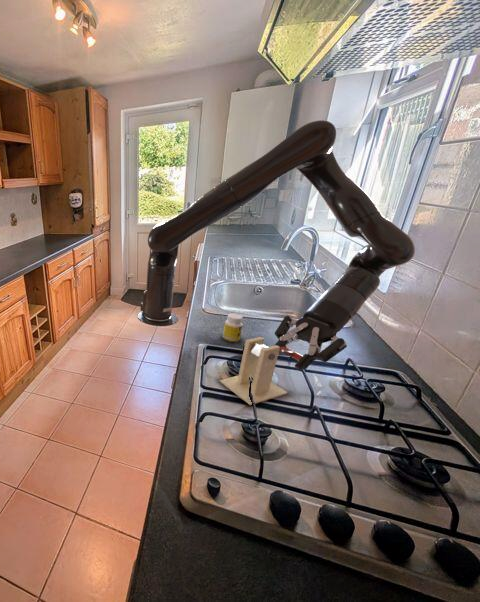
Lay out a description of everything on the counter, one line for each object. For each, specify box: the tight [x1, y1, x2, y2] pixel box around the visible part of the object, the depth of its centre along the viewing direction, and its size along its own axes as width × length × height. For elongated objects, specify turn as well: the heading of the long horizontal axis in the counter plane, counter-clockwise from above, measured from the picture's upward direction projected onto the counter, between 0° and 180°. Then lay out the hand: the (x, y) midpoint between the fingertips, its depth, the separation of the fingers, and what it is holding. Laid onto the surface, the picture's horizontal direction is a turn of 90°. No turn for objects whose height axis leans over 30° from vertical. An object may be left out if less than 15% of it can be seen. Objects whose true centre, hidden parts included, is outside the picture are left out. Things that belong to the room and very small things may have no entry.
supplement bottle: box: [222, 313, 244, 343], centre depth 91 cm, size 5×5×8 cm
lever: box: [251, 343, 304, 362], centre depth 69 cm, size 13×6×2 cm, turn 109°
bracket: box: [219, 336, 288, 406], centre depth 69 cm, size 11×9×13 cm
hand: (285, 361), depth 71 cm, fingers closed on lever, 5 cm apart
